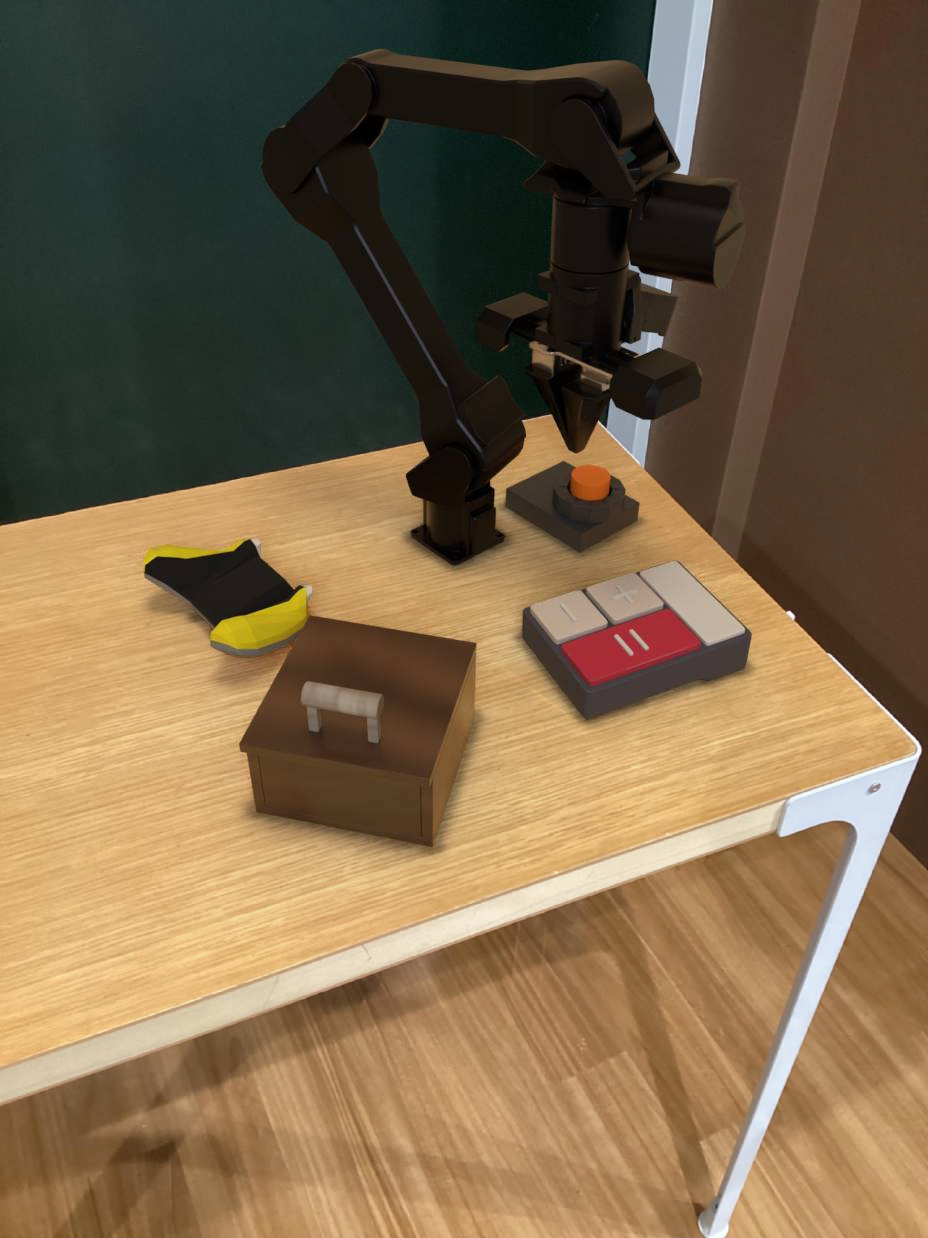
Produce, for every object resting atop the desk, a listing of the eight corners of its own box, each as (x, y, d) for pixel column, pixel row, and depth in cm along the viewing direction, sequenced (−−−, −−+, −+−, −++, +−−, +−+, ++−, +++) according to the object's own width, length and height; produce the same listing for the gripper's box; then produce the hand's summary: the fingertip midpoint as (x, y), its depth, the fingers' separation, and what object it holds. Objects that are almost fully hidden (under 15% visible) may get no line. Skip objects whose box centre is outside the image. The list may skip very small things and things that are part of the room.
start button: (561, 489, 99) (563, 473, 98) (588, 476, 101) (590, 460, 100) (590, 506, 97) (592, 489, 96) (616, 492, 99) (618, 476, 98)
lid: (429, 788, 67) (429, 736, 64) (240, 752, 69) (231, 700, 66) (476, 650, 77) (478, 600, 74) (310, 623, 79) (305, 573, 76)
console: (504, 507, 104) (506, 471, 101) (562, 479, 108) (565, 444, 105) (581, 554, 98) (585, 518, 95) (639, 522, 102) (644, 487, 99)
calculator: (520, 601, 86) (677, 550, 91) (519, 641, 89) (672, 590, 94) (587, 686, 79) (756, 626, 83) (585, 727, 81) (748, 667, 86)
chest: (432, 847, 72) (432, 779, 67) (255, 812, 74) (244, 743, 69) (474, 719, 81) (476, 651, 77) (316, 690, 83) (310, 623, 79)
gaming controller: (230, 695, 83) (337, 642, 88) (221, 641, 79) (333, 589, 84) (141, 600, 91) (243, 557, 96) (129, 548, 88) (236, 506, 93)
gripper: (764, 267, 76) (730, 459, 85) (573, 204, 87) (562, 382, 96) (662, 309, 70) (638, 510, 80) (471, 237, 81) (471, 422, 91)
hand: (576, 450), depth 87 cm, fingers closed
